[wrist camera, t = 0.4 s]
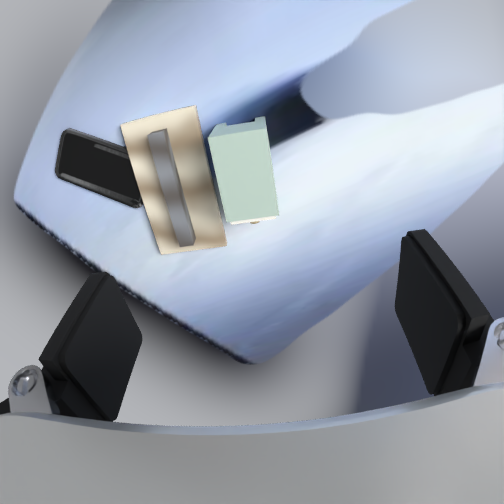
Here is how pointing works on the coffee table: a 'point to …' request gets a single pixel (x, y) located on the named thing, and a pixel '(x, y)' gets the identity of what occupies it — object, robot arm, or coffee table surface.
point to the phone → (97, 167)
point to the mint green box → (244, 171)
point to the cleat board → (188, 175)
